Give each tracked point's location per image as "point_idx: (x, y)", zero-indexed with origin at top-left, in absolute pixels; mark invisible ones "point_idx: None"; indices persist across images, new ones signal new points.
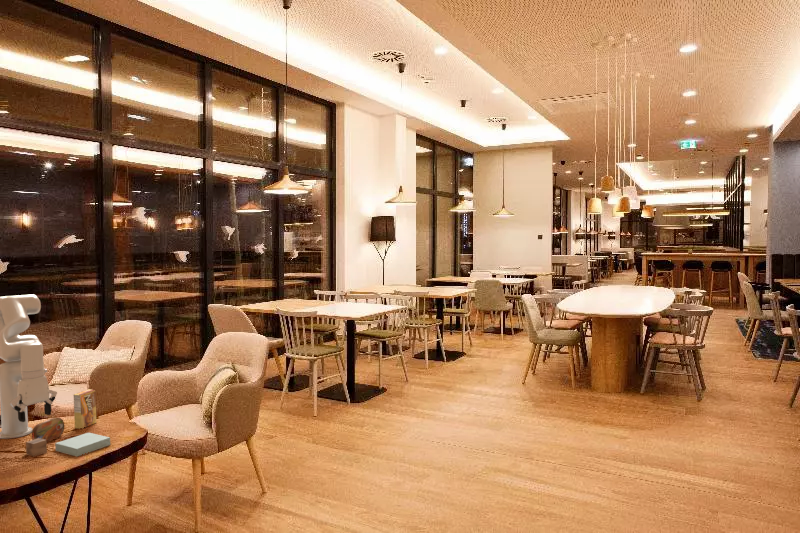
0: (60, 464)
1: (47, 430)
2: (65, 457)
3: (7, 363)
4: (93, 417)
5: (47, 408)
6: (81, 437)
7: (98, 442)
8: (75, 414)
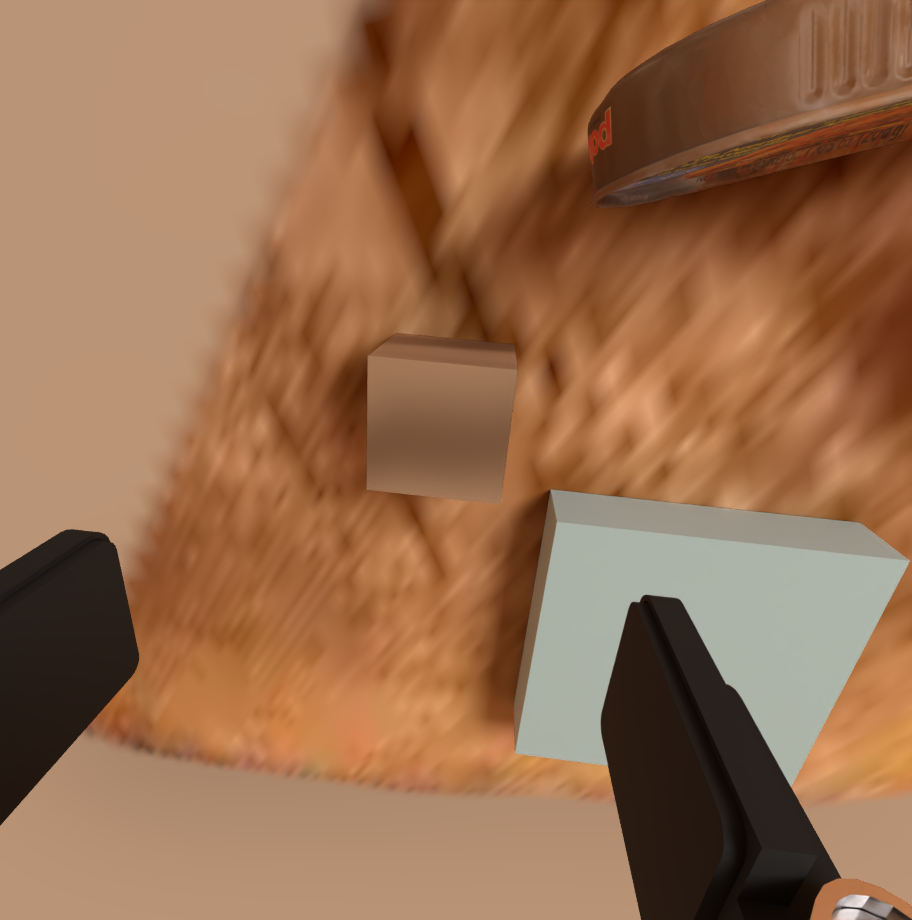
0: (383, 711)
1: (836, 122)
2: (475, 656)
3: None
4: None
5: (646, 840)
6: (752, 608)
7: None
8: None
